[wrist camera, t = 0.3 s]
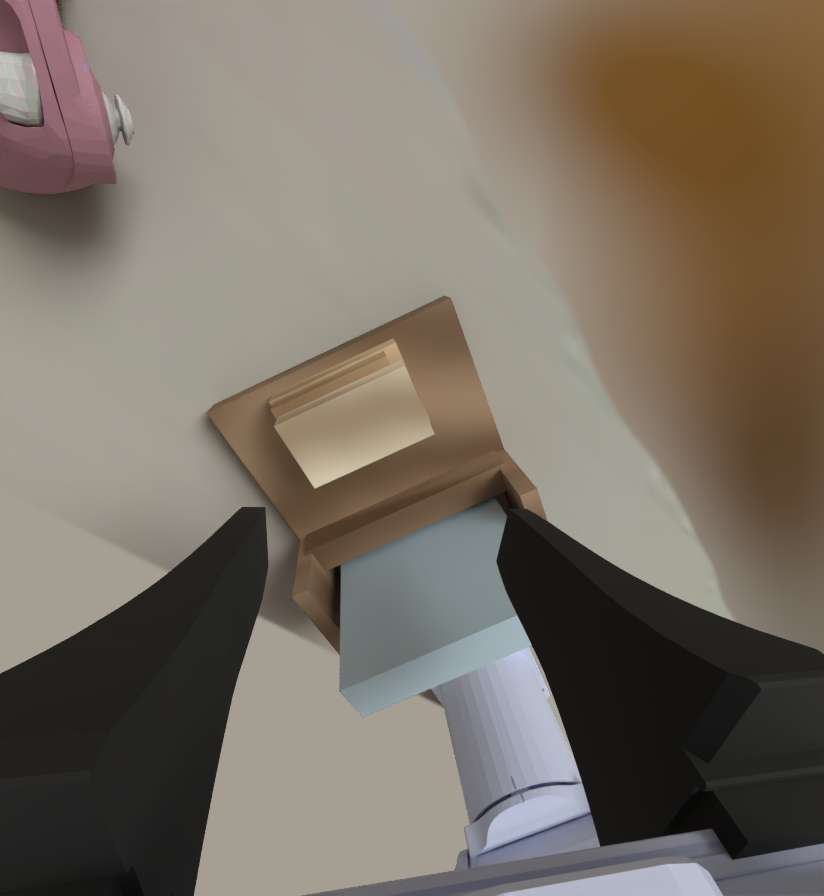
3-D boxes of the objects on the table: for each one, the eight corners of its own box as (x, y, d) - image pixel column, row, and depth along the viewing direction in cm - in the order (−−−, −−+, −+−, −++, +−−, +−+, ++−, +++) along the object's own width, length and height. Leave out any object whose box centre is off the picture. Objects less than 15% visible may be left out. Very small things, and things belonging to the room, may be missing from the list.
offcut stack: (426, 413, 19) (439, 439, 17) (316, 464, 20) (312, 496, 17) (393, 338, 18) (401, 352, 15) (272, 394, 18) (259, 418, 15)
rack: (523, 515, 25) (564, 575, 20) (349, 592, 25) (350, 667, 21) (444, 295, 18) (478, 308, 14) (214, 404, 19) (172, 452, 14)
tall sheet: (498, 513, 23) (569, 629, 16) (357, 575, 23) (362, 717, 16) (488, 486, 22) (557, 597, 15) (341, 552, 22) (339, 691, 15)
